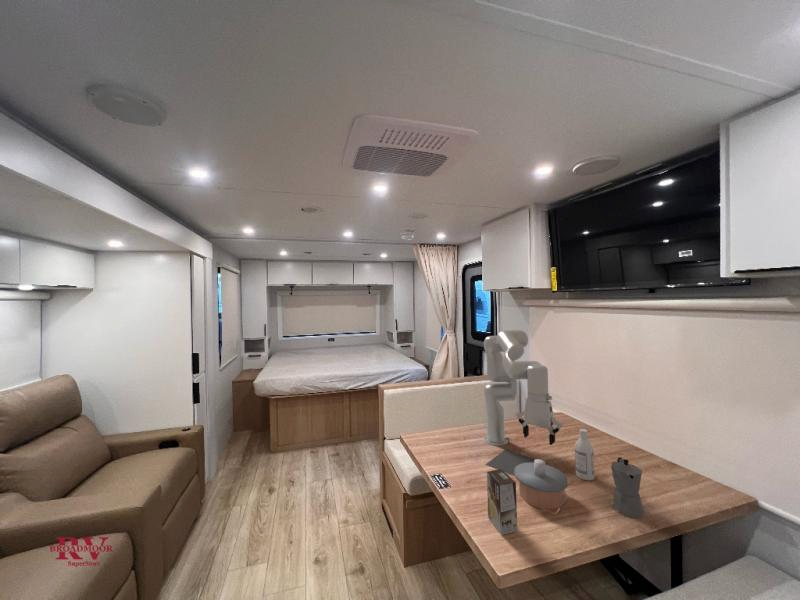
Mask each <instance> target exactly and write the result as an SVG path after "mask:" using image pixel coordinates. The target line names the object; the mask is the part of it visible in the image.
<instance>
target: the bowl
mask: <svg viewBox="0 0 800 600" xmlns="http://www.w3.org/2000/svg"><path fill="white" fill-rule="evenodd" d="M517 482H518V493H519V496H520V498H522V499H523V500H524V502H525V503H527V504H529V505H531V506H533V507H535V508H538V509H541V510H542V509H543V510H545V509H550V510H552V509H560V508H561V509H562V507H563V506H564V504H565V503H566V499H565V497H566V496H565V489H564V490H562V491H559V492H543V491H538V490H534V489H532V488H529V487H527V486H525V485H523V484H522V483H520V482H519V481H518V480H517Z"/></svg>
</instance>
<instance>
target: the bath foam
mask: <svg viewBox="0 0 800 600" xmlns="http://www.w3.org/2000/svg"><path fill="white" fill-rule="evenodd" d="M594 453H595V452H594V447H593V445H592V443H591V442H590V440H589V439H588V430H587V429H585V428H580V429H579V438H578V439H577V441H576V442H575V445H574V455H575V456H574V460H575V461H574V462H575V466H574V467H575V475H576V476H577V477H578V478H579V479H580V480H584V481H593V480H594V479H595V461H594V459H595V458H594V457H595V456H594V455H595V454H594Z"/></svg>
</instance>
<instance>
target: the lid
mask: <svg viewBox="0 0 800 600" xmlns="http://www.w3.org/2000/svg"><path fill="white" fill-rule="evenodd" d="M535 459H536V458H535ZM545 462H546V461H544V459H543V460H542V459H536V460H534V463H522V464H519V465H517V466H516V467H515V470H514V474H515V476H514V477H515V478H516V480H517V482H518V481H519V482H520V483H522V484H523V485H525V486H527V487H529V488H532V489H534V490H538V491H543V492H559V491H562V490H564V491H565V489H567V488H568V484H569V483H568V482H569V481H568V477H567V476H566V474H564V473H563V472H562V471H561V470H559V469H558V468H555V467H553V466H552V465H548V464H547V465H545Z"/></svg>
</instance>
